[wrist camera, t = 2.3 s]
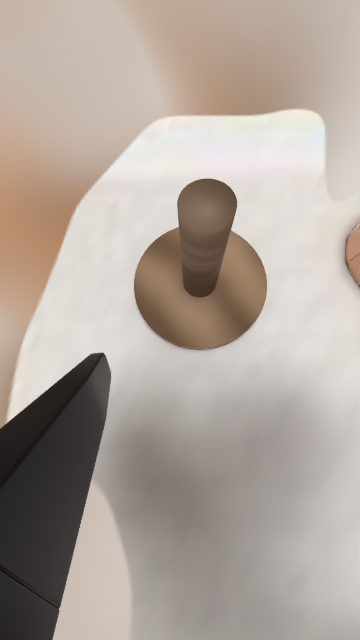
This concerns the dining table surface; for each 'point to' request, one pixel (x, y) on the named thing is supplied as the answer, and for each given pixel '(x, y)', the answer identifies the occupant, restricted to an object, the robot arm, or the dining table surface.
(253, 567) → the dining table surface
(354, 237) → the bowl
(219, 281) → the lid
